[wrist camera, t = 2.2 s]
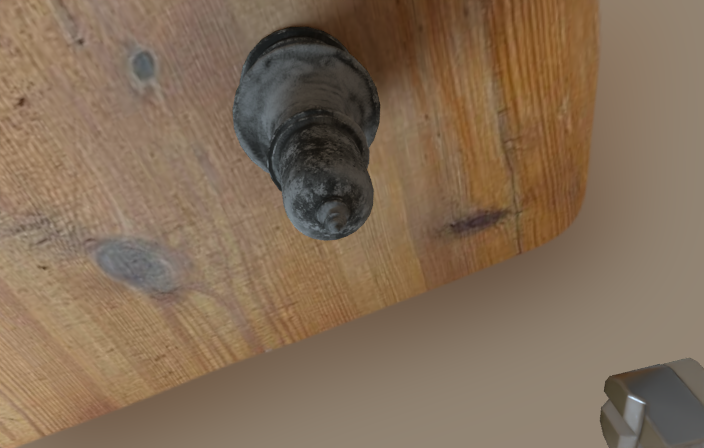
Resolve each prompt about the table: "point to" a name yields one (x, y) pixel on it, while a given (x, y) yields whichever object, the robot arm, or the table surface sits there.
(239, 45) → the table surface
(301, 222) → the chess piece
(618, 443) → the robot arm
